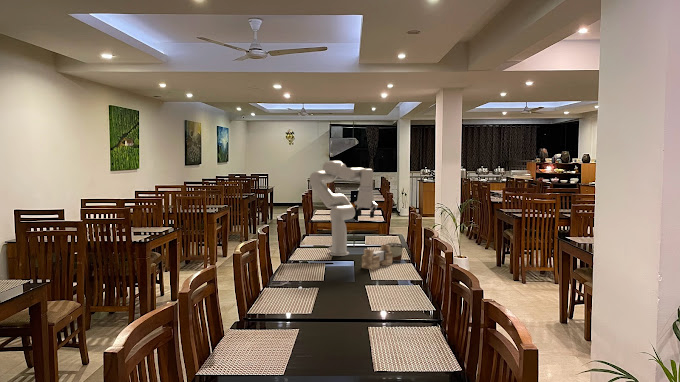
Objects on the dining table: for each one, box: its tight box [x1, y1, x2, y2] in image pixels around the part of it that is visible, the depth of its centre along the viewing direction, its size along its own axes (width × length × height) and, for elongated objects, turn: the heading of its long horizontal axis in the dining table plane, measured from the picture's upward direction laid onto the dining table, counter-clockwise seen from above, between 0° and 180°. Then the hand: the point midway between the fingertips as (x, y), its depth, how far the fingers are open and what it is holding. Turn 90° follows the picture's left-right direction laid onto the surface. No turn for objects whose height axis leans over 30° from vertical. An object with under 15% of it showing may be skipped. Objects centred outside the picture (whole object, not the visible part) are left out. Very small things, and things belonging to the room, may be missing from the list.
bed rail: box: [373, 249, 387, 261], centre depth 295 cm, size 4×14×5 cm, turn 141°
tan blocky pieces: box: [361, 243, 393, 271], centre depth 295 cm, size 8×19×11 cm, turn 141°
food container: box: [384, 242, 404, 262], centre depth 310 cm, size 12×6×10 cm, turn 84°
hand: (365, 216), depth 309 cm, fingers open, 9 cm apart
